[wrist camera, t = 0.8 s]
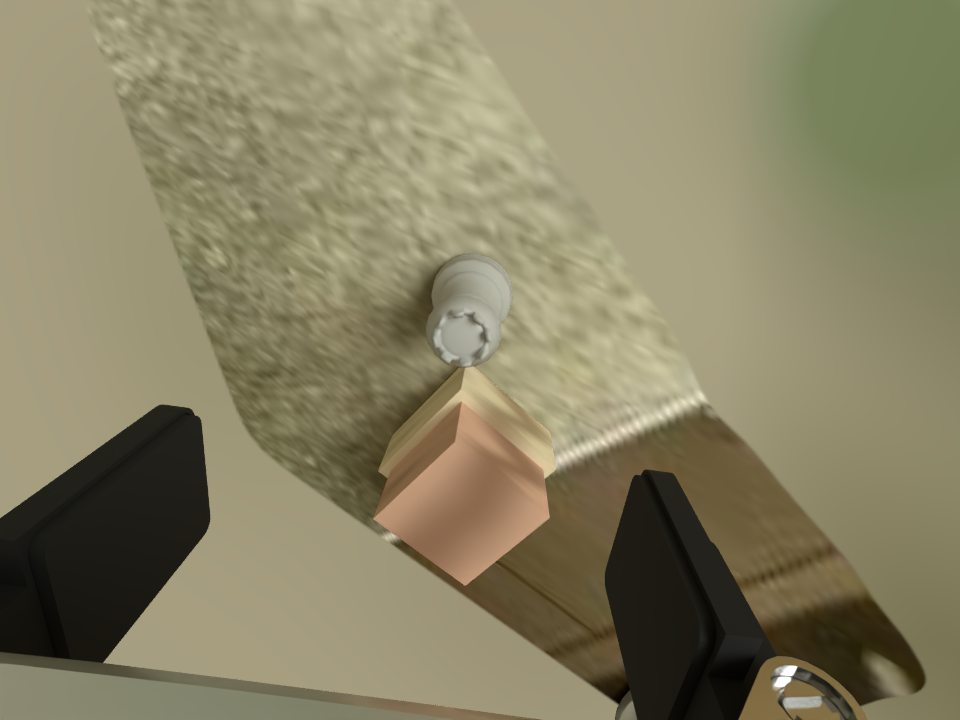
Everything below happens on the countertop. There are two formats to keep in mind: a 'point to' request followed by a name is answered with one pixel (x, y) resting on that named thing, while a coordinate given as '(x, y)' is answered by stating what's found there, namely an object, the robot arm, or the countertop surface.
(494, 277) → the rook chess piece
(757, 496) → the countertop surface
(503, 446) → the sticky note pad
